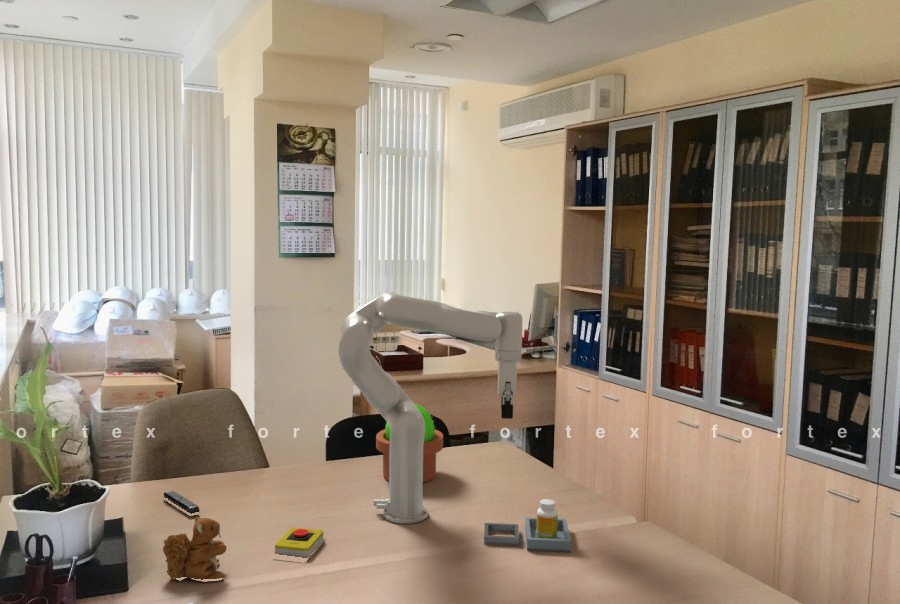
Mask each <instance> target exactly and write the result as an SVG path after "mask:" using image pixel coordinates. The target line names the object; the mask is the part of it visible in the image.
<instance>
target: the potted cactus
mask: <svg viewBox="0 0 900 604" xmlns="http://www.w3.org/2000/svg"><path fill="white" fill-rule="evenodd" d="M414 404H415V405H416V407H417V408H418V409H419V411H420V412H421V414H422V416H423V418H424V422H425V436H424V446H423V484H425V483H428V482H431V480H433V479H434V478H435V477H436V474H437V473H436V472H437V471H436V469H437V467H436V466H437V464H436V463H437V453H439V452H441V451H443V447H444V434H443V432H441V431H439V430H438V429H436V428H435V424H434V420H433V417H432V415H431V414H430V412H429V411H428V410H427V408H425V406H422V405H420V404H419V403H414ZM384 424H385V427H384V429H382V430H380V431H379V432H377V433H376V436H375V448H376V450H377V451H378V452H380V453H382V475H383V478H384V479H385V480H386V481H388V482H389V448H390V427H389V424H388V423H387V422H386V423H384Z"/></svg>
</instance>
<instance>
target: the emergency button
mask: <svg viewBox="0 0 900 604" xmlns="http://www.w3.org/2000/svg"><path fill="white" fill-rule="evenodd" d="M324 537H325V536H324V530H322V529H316V528H315V529H314V528H305V527H304V528H303V527H294V526H293V527H290V528H289V530H287V531H286V532H285V534H283V535H282V537H281V538H280V539H279V540H278V541H277V542H276V543H275V545H274V553H275V554H279V555H287V556H295V557H302V558H308V557H310V556H311V554H312V553H313V552H314V551H315V550H316V549H317V548H318V546H319V545H320V544H321V543H322V542H323V541H324ZM324 542H325V541H324ZM324 542H323V543H324ZM323 543H322V544H323ZM322 544H321V545H322ZM321 545H320V546H321ZM318 549H319V548H318ZM318 549H317V550H318ZM317 550H316V551H317ZM316 551H315V552H316ZM311 557H312V556H311ZM311 557H310V558H311Z"/></svg>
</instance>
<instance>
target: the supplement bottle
mask: <svg viewBox="0 0 900 604" xmlns="http://www.w3.org/2000/svg"><path fill="white" fill-rule="evenodd" d="M558 515H559V514H558V511H557V509H556V501H555V500H554V499H553V500H552V499H549V498H542V499H541V500H540V501H539V508H538V509H537V511H536V518H537V530H536V536H537V538H548V539H556V538H557V520H558V519H559V518H558Z"/></svg>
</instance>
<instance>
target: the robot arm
mask: <svg viewBox="0 0 900 604" xmlns="http://www.w3.org/2000/svg"><path fill="white" fill-rule="evenodd" d="M388 325H390V326H395V327H400V328H401V327H402V328H408V329H414V330H420V331H425V332H431V333H436V334H441V335H447V336H453V337H459V338H462V339H468V340H473V341H479V342H480V341H481V342H493V341H495V343H494V344H495V345H494V346H495V349H494V350H495V351H494V352H495V353H494V360H495V361H496V362H498V367H497V396H498V397H501V401H500V403H501V406H500V409H501V419H508V420H509V419H511V420H512V419H513V417H514V404H513V397H515V395H516V388H517V374H518V372H517V371H518V363H520V362H522V354H523V353H522V352H523V351H522V349H523V347H522V346H523V316H522V314H521V313H520V312H516V311H500V312H496V311H494V312H493V311H486V310H479V311H478V310H477V311H470V310H467V309H466V310H465V309H460V308H457V307H455V306H452V305H449V304H446V303H443V302H440V301H436V300H428V299H423V298H419V297H418V298H416V297H412V296H406V295H401V294H398V293H395V292H392V291H388V292H384V293H382V294H380V295H378V296H377V297H376V298H374V299H373V300H371V301H369V302H368V303H366V304H365V305H363V306H362V307H360V308H358V309H357V310H354V312H352V313H351V314H348V315H347V316H346V317H345V319H344V320H343V322H342V323H341V326H340V328H341V329H340V330H341V331H340V332H341V336H340V341H339V344H338V359H339V363H340V365H341V366H342V369H343V370H344V372H345V373H346V374H347V376H348V378H350V379H351V381H352V383H354V385H355V387H356V388H357V389H358V390H359V391H360V392H361V393H362V395H363V397H365V400H366V401H367V402H368V404H369V405H370V406H371V407H372V408H374V409H376V410H377V412H378V413H379V414H380V415H381V417H382V418H383V419H384V420H385V422H386V423H388V424H389V427H390V448H389V481H388V482H389V483H388V485H389V486H388V498H385V499H381V498H374V499H373V507H376V509H381V510H382V509H383V512H382V513H383V518H385V520H387V521H389V522H391V523H395V524H400V525H401V524H402V525H403V524H405V525H406V524H409V525H410V524H416V523H419V522H422V521H424V520H425V519H427V518H428V516H429V512H428V511H429V510H428V509H427V508H426V507H425V506H424V505H423V497H424V496H423V495H424V494H423V492H424V491H423V490H424V489H423V488H424V483H423V446H424V436H425V422H424V418H423V416H422V414H421V412H420V411H419V409H418V408H417V407H416V405H415V404H416V403H415V402H414V401H412V399H411V398H410V397H409V395H408V394H407V392H405V391H404V389H403V388H402V387H401V386H400V384H399V383H398V382H397V381H396V379H395V378H394V377H393V375H391V374H390V373H389V372H387V371H385V370H384V369H383V367H382V366H381V365H380V363H379V362H378V361H377V359H376V358H375V357H374V356H373V355H372V352H371V344H372V343H373V340H374V336H375V334H376V333H378V332H379V331H381V330H382V329H384V328H386V327H387V326H388Z"/></svg>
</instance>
